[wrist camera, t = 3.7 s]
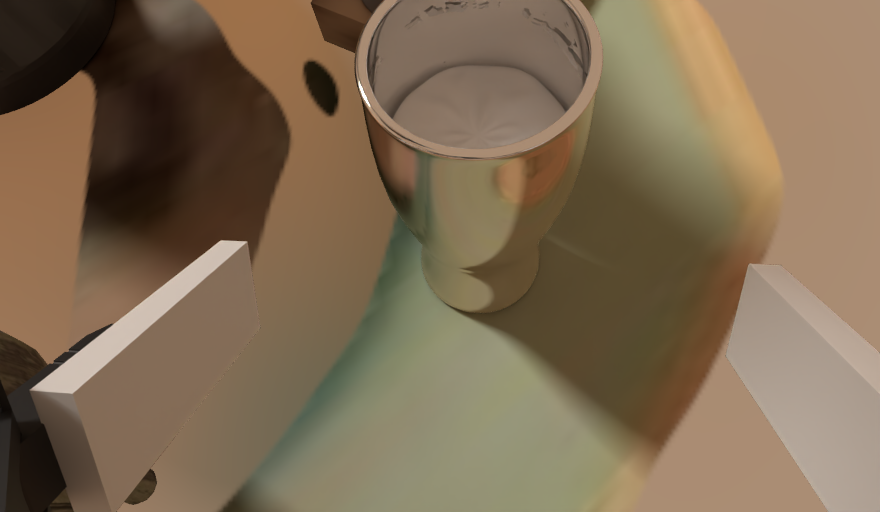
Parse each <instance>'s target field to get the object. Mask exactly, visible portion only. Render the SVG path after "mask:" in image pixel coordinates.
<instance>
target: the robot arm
mask: <svg viewBox="0 0 880 512" xmlns="http://www.w3.org/2000/svg"><path fill="white" fill-rule="evenodd" d="M114 10H115V0H0V115H2V114H5V113H9V112H12V111H15V110H18V109H20V108H23V107H25V106H27V105H30V104H32V103H34V102H36V101H38V100H40V99H41V98H43V97H45V96H47V95H49V94H50V93H52V92H53V91H55V90H56V89H58V88H59V87H60V86H62V85H63V84H65V83H66V82H67V81H68V80H70V79H71V78H72V77H73V76H74V75H75V74H77V73H78V72H79V71H80V70H81V69H82V68H83V67H84V66H85V65H86V64H87V62H88V61H89V60H90V59H91V58H92V57H93V55H94V54H95V53H96V51H97V50H98V48H99V47H100V45H101V44H102V42H103V40H104V39H105V37H106V35H107V33H108V30H109V28H110V26H111V23H112V19H113V15H114ZM259 329H260V322H259V315H258V308H257V302H256V295H255V289H254V282H253V275H252V269H251V262H250V255H249V249H248V242H246V241H223V240H221V241H219V242H218V243H217V244H216V245H214V246H213V247H212V248H210V249H209V250H208V251H207V252H205V253H204V254H203V255H202V256H200V257H199V258H198V259H196V260H195V261H194V262H193V263H191V264H190V265H189V266H187V267H186V268H185V269H184V270H182V271H181V272H180V273H179V274H177V275H176V276H175V277H173V278H172V279H171V280H170V281H168V282H167V283H166V284H164V285H163V286H162V287H161V288H159V289H158V290H157V291H156V292H154V293H153V294H152V295H150V296H149V297H148V298H147V299H145V300H144V301H143V302H142V303H140V304H139V305H138V306H136V307H135V308H134V309H133V310H131V311H130V312H129V313H127V314H126V315H125V316H124V317H122V318H121V319H120V320H119V321H117V322H116V323H115V324H110V325H108V326H106V327H104V328H101V329H99V330H97V331H95V332H93V333H91V334H89V335H87V336H86V337H84V338H83V339H82V340H80V341H79V342H78V343H76V344H75V345H74V346H72V347H71V348H70V349H69V352H64V353H63V354H62V355H61V356H59V357H58V358H57V359H55V360H54V363H53V364H49V365H47V366H46V367H45V368H43V369H42V370H41V371H39V372H38V373H37V374H36V375H34V376H33V377H32V378H30V379H29V380H28V381H26V382H25V383H24V384H22V385H21V386H20V387H18V388H17V389H16V390H14V391H13V392H12V393H11V394H9V395H8V396H7V395H6V393H5V390H4V388H3V385H2V382H1V380H0V512H52V510H51V508H50V504H51V503H52V502H53V501H54V500H55V499H56V498H57V497H58V495H59V494H60V493H61V492H62V491H63V490H64V489H66V491H67V494H68V497H69V499H70V502H71V505H72V508H73V510H74V512H117V510H118V509H119V508H120V506H121V505H122V504H123V502H124V501H125V500H126V499H127V498H128V496H129V495H130V494H131V492H132V491H133V490H134V489H135V487H136V486H137V485H138V484H139V482H140V481H141V480H142V478H143V477H144V476H145V475H146V473H147V472H148V471H149V470H150V468H151V467H152V466H153V464H154V463H155V462H156V461H157V459H158V458H159V457H160V455H161V454H162V453H163V452H164V450H165V449H166V448H167V447H168V445H169V444H170V443H171V441H172V440H173V439H174V438H175V436H176V435H177V434H178V433H179V431H180V430H181V429H182V427H183V426H184V425H185V424H186V422H187V421H188V420H189V419H190V417H191V416H192V415H193V413H194V412H195V411H196V410H197V408H198V407H199V406H200V405H201V403H202V402H203V401H204V399H205V398H206V397H207V396H208V394H209V393H210V392H211V391H212V389H213V388H214V387H215V385H216V384H217V383H218V382H219V380H220V379H221V378H222V376H223V375H224V374H225V373H226V371H227V370H228V369H229V368H230V366H231V365H232V364H233V363H234V361H235V360H236V359H237V357H238V356H239V355H240V354H241V352H242V351H243V350H244V349H245V347H246V346H247V345H248V343H249V342H250V341H251V340H252V338H253V337H254V336H255V335H256V333H257V332H258V330H259ZM725 356H726V358H727V359H728V360H729V362H730V364H731V365H732V367H733V368H734V370H735V371H736V373H737V374H738V376H739V377H740V379H741V380H742V382H743V383H744V385H745V386H746V388H747V389H748V391H749V393H750V394H751V396H752V397H753V399H754V400H755V402H756V403H757V405H758V406H759V408H760V409H761V411H762V412H763V414H764V415H765V417H766V418H767V420H768V421H769V423H770V424H771V426H772V427H773V429H774V430H775V432H776V433H777V435H778V436H779V438H780V439H781V441H782V443H783V444H784V445H785V447H786V449H787V450H788V452H789V453H790V454H791V456H792V458H793V459H794V461H795V462H796V464H797V465H798V467H799V468H800V470H801V471H802V473H803V474H804V476H805V477H806V479H807V480H808V482H809V484H810V485H811V487H812V488H813V490H814V491H815V493H816V494H817V496H818V497H819V499H820V500H821V502H822V503H823V504H824V506H825V508H826V509H827V511H828V512H880V352H878V351H877V350H876V349H875V348H874V347H873V346H872V345H871V344H869V343H868V342H867V341H866V340H865V339H864V338H863V337H862V336H861V335H859V334H858V333H857V332H856V331H855V330H854V329H853V328H851V327H850V326H849V325H848V324H847V323H846V322H844V320H842V319H841V318H840V317H839V316H838V315H837V314H836V313H835V312H833V311H832V310H831V309H830V308H829V307H828V306H827V305H825V304H824V303H823V302H822V301H821V300H820V299H819V298H818V297H817V296H815V295H814V294H813V293H812V292H811V291H810V290H809V289H807V288H806V287H805V286H804V285H803V284H802V283H801V282H800V281H798V280H797V279H796V278H795V277H794V276H793V275H792V274H791V273H789V272H788V271H787V270H786V269H785V268H784V267H783V266H782V265H771V264H748V268H747V272H746V276H745V280H744V284H743V288H742V292H741V296H740V300H739V304H738V308H737V312H736V316H735V320H734V324H733V328H732V332H731V336H730V340H729V344H728V348H727V351H726V355H725Z"/></svg>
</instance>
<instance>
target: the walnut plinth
mask: <svg viewBox="0 0 880 512" xmlns="http://www.w3.org/2000/svg"><path fill="white" fill-rule="evenodd" d="M382 1H383V0H312V2H311V5H312V8H313V10H314V13H315V16H316V18H317V21H318V24H319V26H320V29H321V32H322V35H323V37H324V40H325V41H327V42H329V43H332V44H334V45H337V46H339V47H342V48H344V49H346V50H349V51H352V52H354V53H356V48H357V44H358V40H359V37H360V35H361V32H362V30H363V28H364V26H365V24H366V22H367V21H368V19H369V18H370V16H371V15H372V13H373V12H374V11H375V9H376V8H377V7H378V6H379V5H380V4H381V2H382Z"/></svg>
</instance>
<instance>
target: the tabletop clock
mask: <svg viewBox="0 0 880 512" xmlns="http://www.w3.org/2000/svg"><path fill="white" fill-rule="evenodd" d="M46 366H47V363H46V362H45V361H44V359H43V358H42V357H41V356H40V355H39V353H38V352H37V351H36V350H35V349H33V348H32V347H30V346H28V345H26V344H25V343H23V342H21V341H20V340H18V339H16V338H14V337H12V336H10V335H8V334H6V333H4V332H2V331H0V380H1V382H2V385H3V388H4V390H5V393H6V395H7V396H8V395H9V394H11V393H12V392H13V391H14V390H16V389H17V388H18V387H20V386H21V385H22V384H24V383H25V382H26V381H28V380H29V379H30V378H32V377H33V376H34V375H36V374H37V373H38V372H39V371H41V370H42V369H43V368H45V367H46ZM156 484H157V481H156V476H155V473H154V471H153V470H151V469H150V470H149V471H148V472H147V473H146V475H145V476H144V477H143V478H142V480H141V481H140V482H139V484H138V485H137V486H136V487H135V489H134V490H133V491H132V492H131V494H130V495H129V496H128V498H127V499H126V500H125V501H124V502H126V503H128V504H133V505H134V504H138V503H140V502H143V501H145V500H147V499H148V498H149V497H150V496H151V495H152V493H153V492H154V490H155V487H156ZM50 508H51V510H52V512H74V510H73V508H72V505H71V502H70V499H69V497H68V494H67V491H66V489H64V490H63V491H62V492H61V493H60V494H59V495H58V497H57V498H56V499H55V500H54V501H53V502H52V503H51V504H50Z"/></svg>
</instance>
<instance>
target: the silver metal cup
mask: <svg viewBox="0 0 880 512" xmlns="http://www.w3.org/2000/svg"><path fill="white" fill-rule="evenodd" d="M602 67H603V49H602V42H601V38H600V34H599V31H598V28H597V26H596V24H595V21H594V20H593V18H592V16H591V14H590V13H589V11H588V10H587V8H586V7H585V6H584V5H583V3H582V2H581V1H580V0H383V1H382V2H381V4H380V5H379V6H378V7H377V8H376V9H375V11H374V12H373V13H372V15H371V16H370V18H369V19H368V21H367V22H366V24H365V26H364V28H363V30H362V32H361V35H360V37H359V40H358V44H357V48H356V53H355V78H356V83H357V87H358V90H359V93H360V96H361V99H362V104H363V109H364V115H365V120H366V125H367V130H368V134H369V139H370V144H371V148H372V151H373V155H374V158H375V162H376V165H377V169H378V172H379V175H380V177H381V180H382V182H383V184H384V187H385V189H386V192H387V194H388V196H389V199H390V201H391V203H392V204H393V206H394V208H395V209H396V211H397V212H398V214H399V216H400V217H401V219H402V220H403V222H404V223H405V225H406V226H407V227H408V229H409V230H410V231H411V232H412V234H413V235H414V236H415V237H416V238H417V240H418V241H419V242H420V243H421V244H422V252H421V263H422V270H423V274H424V277H425V279H426V281H427V283H428V285H429V287H430V288H431V289H432V291H433V292H434V293H435V294H436V295H437V296H438V297H439V298H440V299H441V300H442V301H444V302H445V303H447V304H448V305H450V306H452V307H454V308H456V309H458V310H461V311H465V312H470V313H490V312H495V311H499V310H502V309H504V308H506V307H508V306H510V305H512V304H514V303H515V302H516V301H518V300H519V299H520V298H521V297H522V296H523V295H524V294H525V293H526V292H527V291H528V289H529V288H530V287H531V285H532V283H533V282H534V279H535V277H536V275H537V271H538V267H539V258H540V255H539V246H538V242H539V241H540V240H541V238H542V237H543V236H544V235H545V233H546V232H547V231H548V230H549V228H550V227H551V226H552V224H553V223H554V221H555V220H556V218H557V217H558V215H559V213H560V212H561V210H562V209H563V207H564V205H565V204H566V202H567V200H568V198H569V196H570V194H571V191H572V189H573V186H574V184H575V181H576V179H577V176H578V174H579V171H580V168H581V165H582V161H583V157H584V153H585V149H586V146H587V142H588V137H589V132H590V127H591V121H592V116H593V110H594V104H595V97H596V91H597V87H598V84H599V82H600V78H601V73H602Z"/></svg>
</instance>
